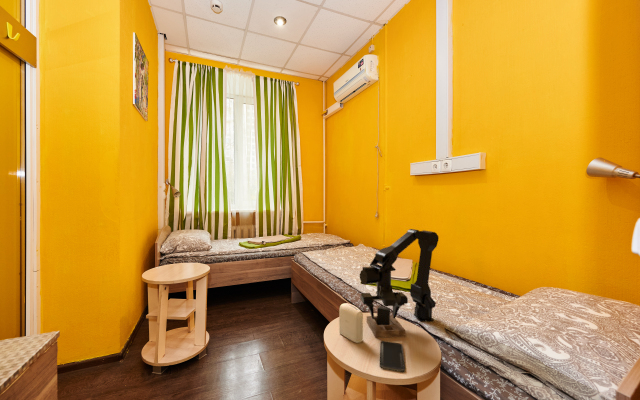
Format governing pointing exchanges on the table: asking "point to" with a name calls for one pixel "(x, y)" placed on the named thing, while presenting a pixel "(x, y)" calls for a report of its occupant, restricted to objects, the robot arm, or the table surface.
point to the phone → (392, 356)
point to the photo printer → (351, 322)
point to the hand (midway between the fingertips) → (383, 318)
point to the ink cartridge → (383, 315)
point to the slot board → (385, 328)
